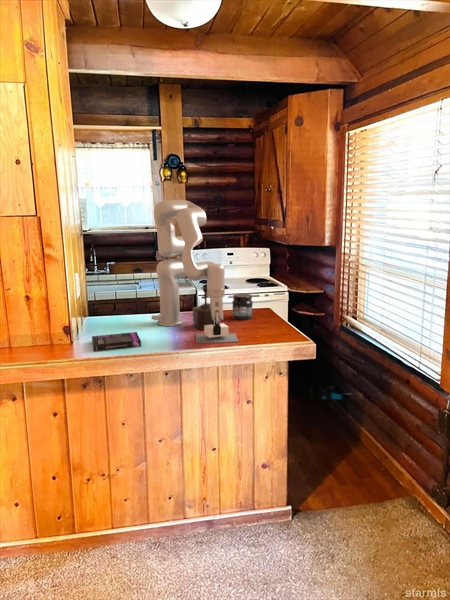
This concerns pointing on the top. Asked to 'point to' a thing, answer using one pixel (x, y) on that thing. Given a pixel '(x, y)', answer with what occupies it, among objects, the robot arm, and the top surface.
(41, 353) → the top surface
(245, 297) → the supplement container
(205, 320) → the vintage coffee grinder
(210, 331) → the card box
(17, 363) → the top surface
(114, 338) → the box
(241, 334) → the top surface
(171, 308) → the robot arm
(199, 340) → the mat
